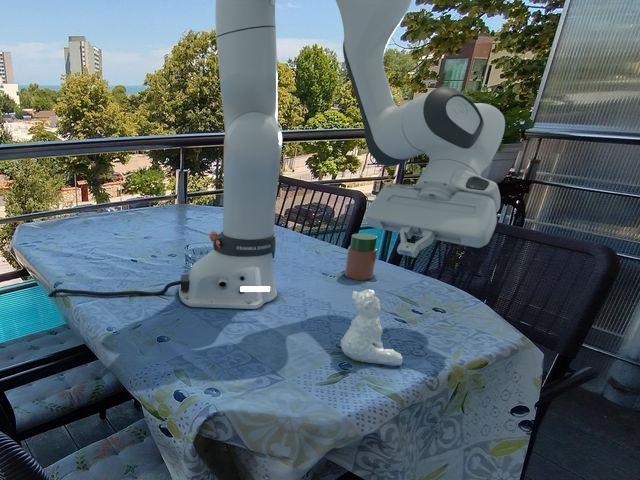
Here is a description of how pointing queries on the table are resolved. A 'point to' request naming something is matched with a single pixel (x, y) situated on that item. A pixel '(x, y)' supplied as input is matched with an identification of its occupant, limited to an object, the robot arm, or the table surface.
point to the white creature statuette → (367, 333)
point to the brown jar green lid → (361, 256)
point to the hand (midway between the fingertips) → (405, 253)
